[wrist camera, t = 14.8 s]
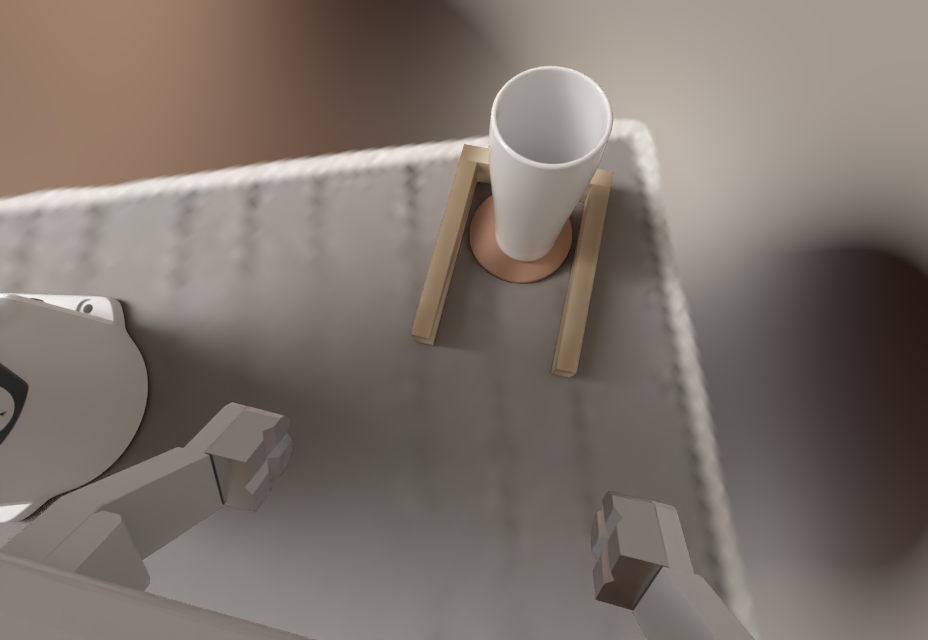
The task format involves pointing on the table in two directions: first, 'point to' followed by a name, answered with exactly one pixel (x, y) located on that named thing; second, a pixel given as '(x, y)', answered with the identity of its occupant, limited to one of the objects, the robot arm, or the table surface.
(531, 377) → the table surface
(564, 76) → the white cup
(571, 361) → the guide channel
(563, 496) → the table surface
